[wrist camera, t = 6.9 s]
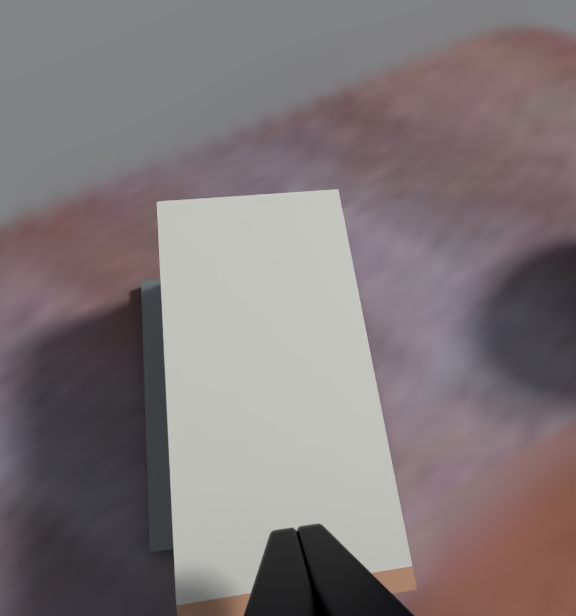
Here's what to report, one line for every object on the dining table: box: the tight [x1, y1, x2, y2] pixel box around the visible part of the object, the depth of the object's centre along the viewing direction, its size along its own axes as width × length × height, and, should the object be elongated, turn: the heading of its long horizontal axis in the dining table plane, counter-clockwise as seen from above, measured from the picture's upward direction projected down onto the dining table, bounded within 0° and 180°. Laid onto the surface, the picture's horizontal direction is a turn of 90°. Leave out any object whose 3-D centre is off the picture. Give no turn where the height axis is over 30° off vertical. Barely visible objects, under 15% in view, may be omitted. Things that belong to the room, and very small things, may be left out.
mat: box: [141, 279, 174, 553], centre depth 15 cm, size 8×7×1 cm
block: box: [157, 189, 417, 616], centre depth 13 cm, size 4×4×9 cm
